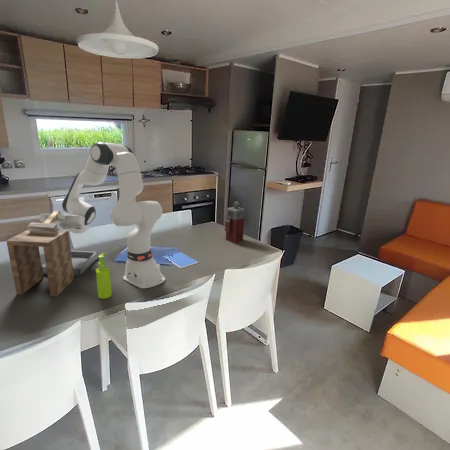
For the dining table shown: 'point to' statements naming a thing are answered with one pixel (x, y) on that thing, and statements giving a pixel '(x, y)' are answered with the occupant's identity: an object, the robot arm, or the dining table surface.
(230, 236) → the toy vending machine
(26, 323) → the dining table surface
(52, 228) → the scraper
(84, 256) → the tray
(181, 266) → the blue notebook
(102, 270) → the soap dispenser
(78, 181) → the robot arm
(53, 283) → the walnut bench
